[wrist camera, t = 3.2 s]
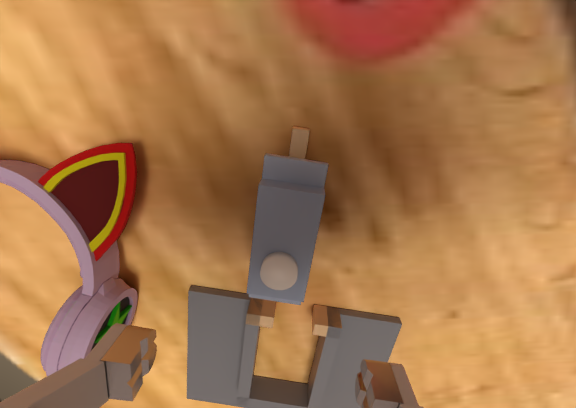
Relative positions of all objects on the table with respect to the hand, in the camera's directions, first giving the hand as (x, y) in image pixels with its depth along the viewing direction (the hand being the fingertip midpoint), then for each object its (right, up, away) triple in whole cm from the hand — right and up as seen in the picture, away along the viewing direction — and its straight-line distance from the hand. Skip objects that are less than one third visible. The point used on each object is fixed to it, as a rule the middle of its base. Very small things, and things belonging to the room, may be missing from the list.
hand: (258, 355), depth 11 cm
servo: (+1, +5, +13) cm, 14 cm away
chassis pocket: (+1, -10, +19) cm, 21 cm away
